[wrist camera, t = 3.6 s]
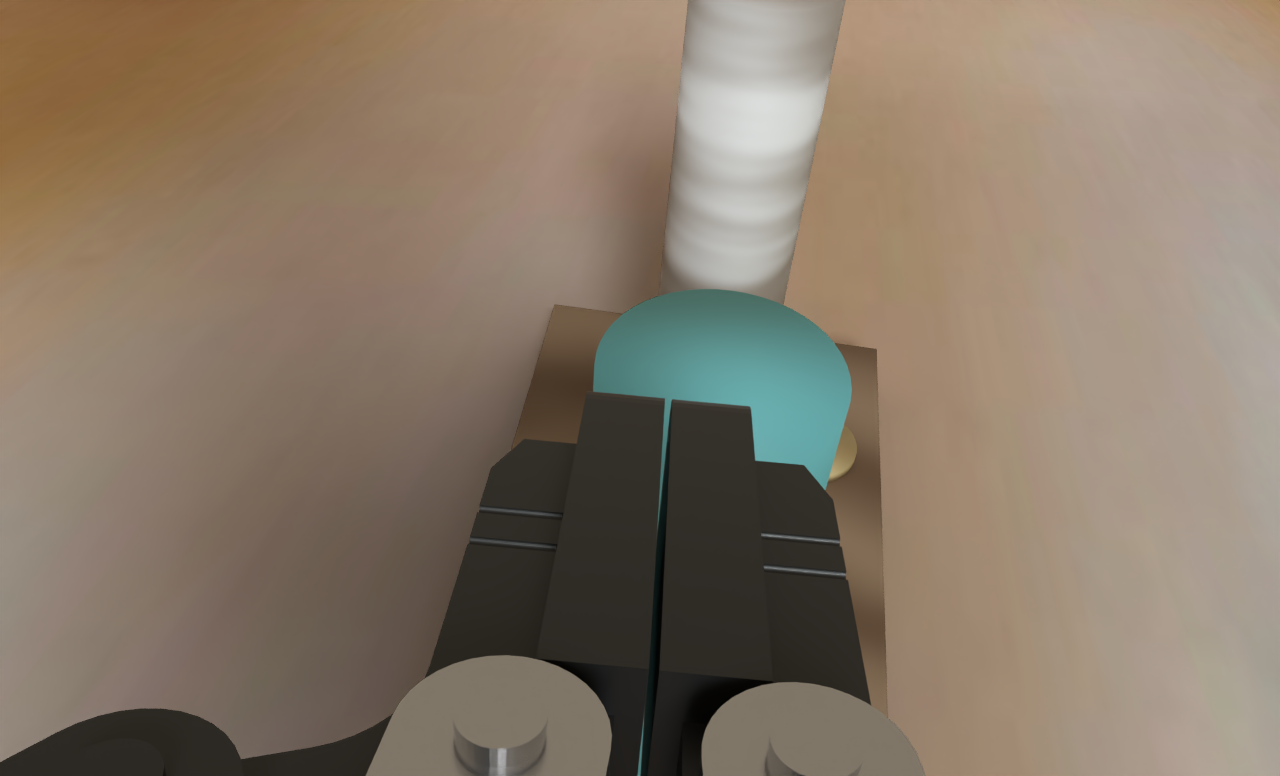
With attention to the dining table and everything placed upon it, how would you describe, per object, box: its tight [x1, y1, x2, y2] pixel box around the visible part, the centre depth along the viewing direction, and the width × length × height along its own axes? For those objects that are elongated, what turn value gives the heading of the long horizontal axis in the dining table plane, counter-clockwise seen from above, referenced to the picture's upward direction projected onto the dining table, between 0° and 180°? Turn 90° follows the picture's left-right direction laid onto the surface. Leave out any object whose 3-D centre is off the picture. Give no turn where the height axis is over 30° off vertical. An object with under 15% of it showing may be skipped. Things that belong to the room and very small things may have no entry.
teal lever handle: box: [593, 289, 852, 776], centre depth 23 cm, size 4×6×16 cm, turn 82°
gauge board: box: [511, 0, 888, 718], centre depth 29 cm, size 26×13×19 cm, turn 172°
